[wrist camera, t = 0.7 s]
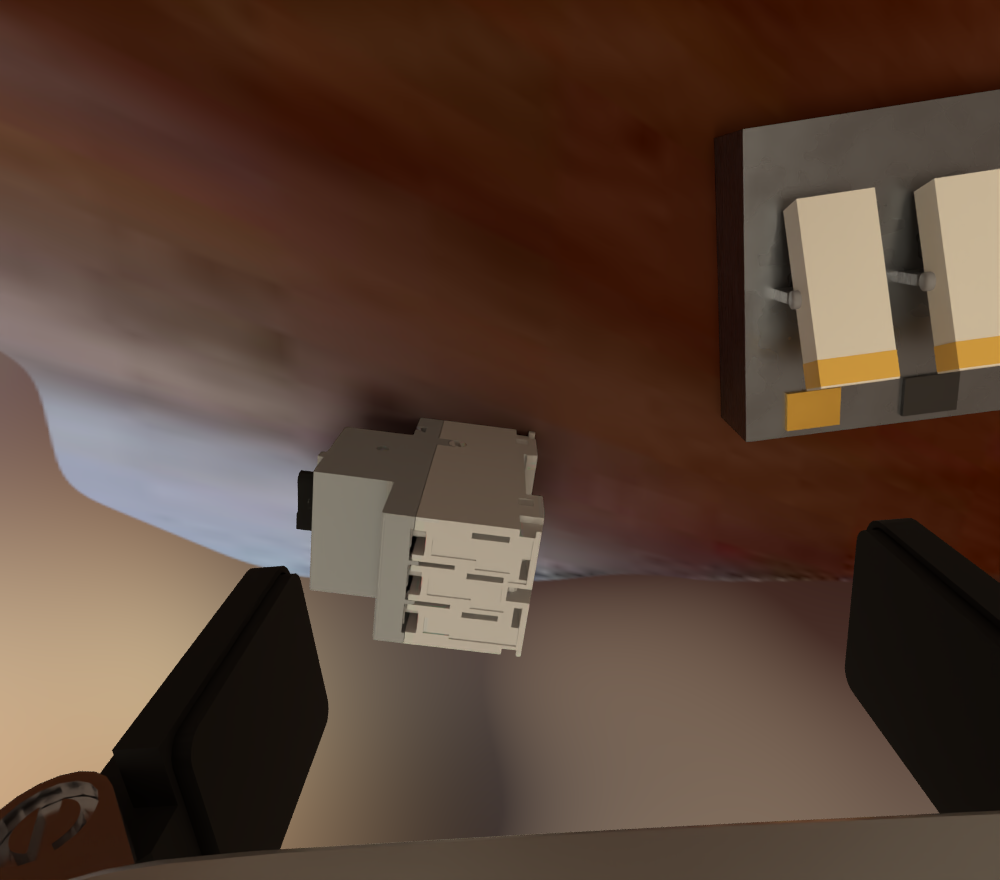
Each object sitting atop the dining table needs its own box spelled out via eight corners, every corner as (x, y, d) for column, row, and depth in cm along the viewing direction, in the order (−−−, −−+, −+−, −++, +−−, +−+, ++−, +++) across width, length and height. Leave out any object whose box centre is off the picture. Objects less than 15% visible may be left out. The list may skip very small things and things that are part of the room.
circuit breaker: (334, 406, 45) (255, 497, 31) (534, 431, 46) (547, 532, 31) (330, 502, 48) (255, 626, 34) (520, 525, 48) (525, 657, 34)
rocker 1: (777, 212, 35) (790, 199, 33) (862, 199, 35) (880, 186, 33) (800, 391, 35) (815, 389, 33) (885, 380, 35) (906, 377, 33)
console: (714, 138, 39) (755, 125, 33) (1092, 80, 38) (1211, 54, 31) (721, 417, 45) (756, 452, 39) (1046, 375, 44) (1138, 404, 37)
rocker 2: (907, 193, 35) (928, 179, 33) (994, 180, 35) (1020, 165, 33) (931, 374, 35) (953, 371, 33) (1018, 363, 35) (1046, 359, 33)
